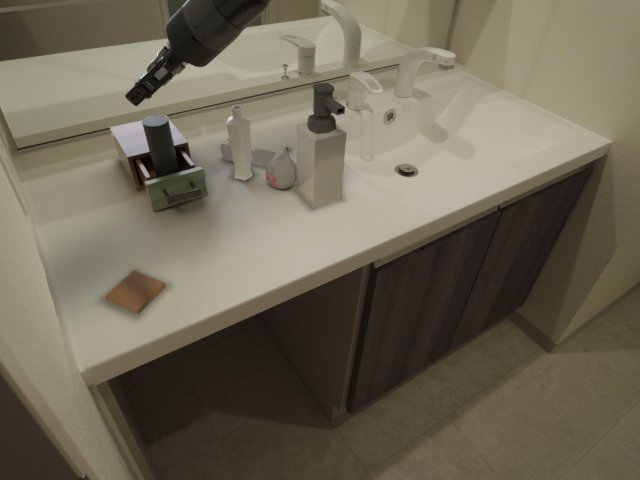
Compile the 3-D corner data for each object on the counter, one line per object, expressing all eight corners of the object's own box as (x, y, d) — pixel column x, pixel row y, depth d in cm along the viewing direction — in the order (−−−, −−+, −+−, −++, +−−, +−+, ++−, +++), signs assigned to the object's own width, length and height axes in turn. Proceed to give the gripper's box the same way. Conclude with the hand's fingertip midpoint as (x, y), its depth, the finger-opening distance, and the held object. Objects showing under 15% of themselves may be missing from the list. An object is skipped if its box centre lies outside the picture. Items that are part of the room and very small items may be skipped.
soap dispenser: (318, 215, 79) (324, 103, 64) (296, 191, 84) (296, 82, 70) (347, 205, 81) (358, 95, 67) (323, 182, 87) (329, 76, 72)
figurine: (257, 186, 85) (255, 152, 79) (281, 173, 89) (281, 139, 84) (280, 200, 82) (279, 164, 76) (304, 185, 86) (305, 151, 80)
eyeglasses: (218, 159, 92) (217, 142, 89) (232, 144, 98) (231, 128, 96) (279, 169, 90) (279, 152, 88) (289, 153, 96) (289, 137, 94)
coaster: (137, 314, 60) (136, 310, 59) (106, 299, 62) (104, 296, 61) (165, 286, 64) (164, 282, 64) (135, 273, 66) (133, 270, 65)
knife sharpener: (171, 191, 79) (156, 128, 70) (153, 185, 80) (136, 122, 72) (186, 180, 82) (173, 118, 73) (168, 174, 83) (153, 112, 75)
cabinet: (194, 174, 87) (188, 142, 82) (137, 190, 82) (127, 157, 77) (172, 146, 95) (165, 115, 90) (120, 159, 90) (109, 127, 85)
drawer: (216, 205, 78) (211, 179, 74) (160, 223, 74) (153, 197, 70) (185, 164, 88) (180, 139, 84) (134, 178, 84) (127, 152, 80)
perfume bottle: (258, 171, 89) (253, 104, 79) (248, 182, 86) (242, 113, 76) (238, 167, 90) (231, 100, 80) (228, 177, 87) (220, 109, 77)
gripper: (202, -14, 62) (141, 50, 70) (166, 20, 52) (100, 90, 60) (238, 29, 66) (176, 85, 74) (211, 69, 56) (143, 128, 64)
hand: (142, 87), depth 67 cm, fingers open, 8 cm apart
